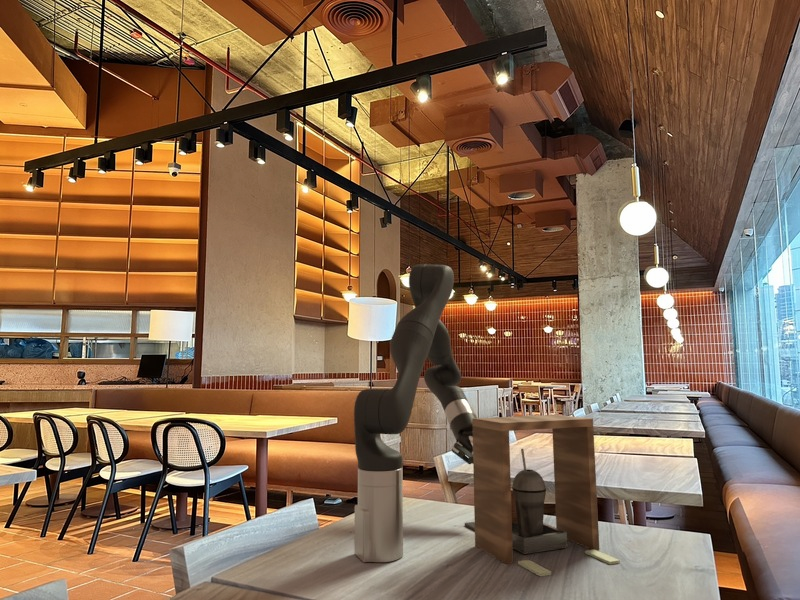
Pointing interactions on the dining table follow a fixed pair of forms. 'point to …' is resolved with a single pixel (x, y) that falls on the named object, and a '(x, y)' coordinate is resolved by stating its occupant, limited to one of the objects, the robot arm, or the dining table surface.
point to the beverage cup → (529, 501)
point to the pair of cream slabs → (543, 572)
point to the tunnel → (569, 476)
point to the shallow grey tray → (536, 536)
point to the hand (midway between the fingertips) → (487, 475)
